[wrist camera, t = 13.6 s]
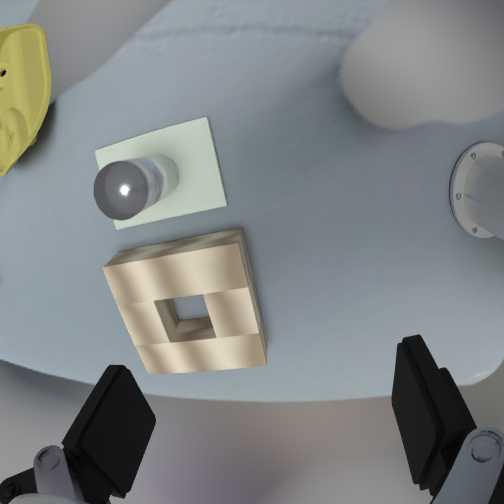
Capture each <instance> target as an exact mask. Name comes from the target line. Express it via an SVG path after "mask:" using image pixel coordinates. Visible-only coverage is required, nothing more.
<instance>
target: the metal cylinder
mask: <svg viewBox="0 0 504 504" xmlns="http://www.w3.org/2000/svg"><path fill="white" fill-rule="evenodd" d="M178 182H179V171H178V168H177V166H176V164H175V163H174V161H173V160H172V159H170V158H169V157H167V156H165V155H160V154H157V155H150V156H144V157H138V158H132V159H127V160H121V161H116V162H112V163H109V164H107V165H106V166H104V167H103V168H102V169H101V170H100V171H99V173H98V175H97V177H96V179H95V183H94V197H95V201H96V203H97V205H98V207H99V209H100V210H101V211H102V212H103V213H104V214H105V215H106V216H108V217H109V218H111V219H114V220H120V221H122V220H128V219H130V218H132V217H134V216H135V215H137V214H139V213H140V212H142V211H144V210H145V209H147V208H149V207H150V206H152V205H154V204H156V203H157V202H159V201H161V200H162V199H164V198H166V197H168V196H169V195H171V194H172V193H173V192H174V191H175V189H176V188H177V185H178Z"/></svg>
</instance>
